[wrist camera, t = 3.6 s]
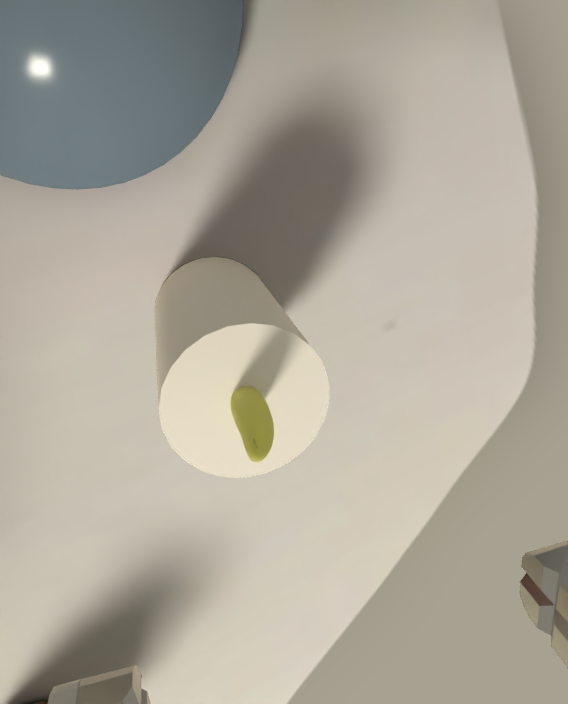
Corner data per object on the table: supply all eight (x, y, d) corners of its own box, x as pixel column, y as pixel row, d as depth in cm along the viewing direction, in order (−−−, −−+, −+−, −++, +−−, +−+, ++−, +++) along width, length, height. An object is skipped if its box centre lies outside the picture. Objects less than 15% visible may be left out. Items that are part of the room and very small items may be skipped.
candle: (215, 391, 31) (270, 596, 17) (128, 315, 28) (113, 491, 14) (296, 316, 30) (418, 468, 17) (215, 231, 27) (284, 332, 14)
